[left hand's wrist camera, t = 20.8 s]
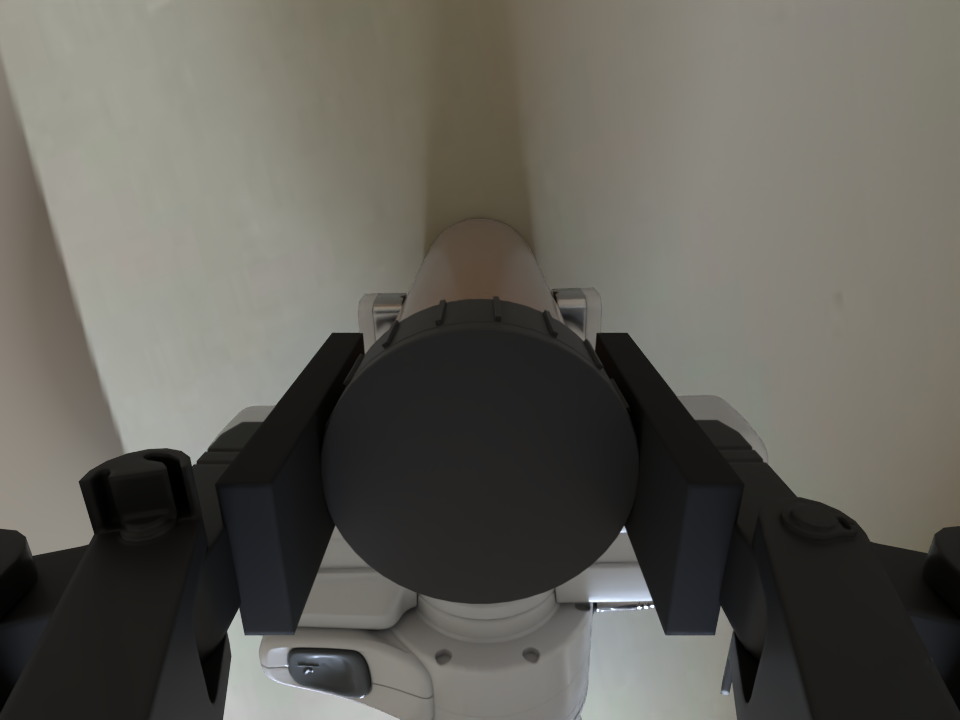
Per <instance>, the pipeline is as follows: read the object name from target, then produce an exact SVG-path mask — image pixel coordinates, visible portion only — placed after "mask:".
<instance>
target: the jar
mask: <svg viewBox="0 0 960 720" xmlns="http://www.w3.org/2000/svg"><path fill="white" fill-rule="evenodd" d="M493 296H498V297H499V300H503V301H510V302H513V303H517V304H521V305H525V306H528V307H531V308H533V309H536V310H538V311H541V312H544V310H547V311H549V312H550V314H551V316H552V317H553V318H554V319H556V320H558V321H560V322H562V323H563V324H564V325H565V326H567V324H566V322H565V320H564V318H563V316H562V314H561V312H560V310H559V308H558V306H557V303H556V301H555V299H554V297H553V295H552V293H551V291H550V289H549V287H548V285H547V282H546V280H545V278H544V276H543V274H542V272H541V270H540V268H539V266H538V264H537V262H536V259H535V257H534V255H533V253H532V251H531V249H530V247H529V245H528V244H527V242H526V241H525V240H524V239H523V237H522V236H521V235H520V234H519V233H518V232H516V231H515V230H514V229H512V228H511V227H509V226H508V225H506V224H504V223H501V222H498V221H495V220H491V219H482V218H478V219H469V220H465V221H462V222H459V223H456V224H454V225H453V226H451V227H449V228H448V229H446V230H445V231H444V232H442V233H441V234H440V235H439V236H438V237H437V239H436V240H435V241H434V242H433V244H432V246H431V247H430V249H429V251H428V253H427V255H426V257H425V259H424V261H423V264H422V266H421V268H420V270H419V272H418V274H417V276H416V278H415V280H414V282H413V284H412V287H411V289H410V291H409V293H408V295H407V297H406V299H405V301H404V303H403V305H402V307H401V310H400V312H399V314H398V316H397V318H396V320H398V322H400V321H402V320H404V319H405V318H407V317H409V316H411V315H412V314H414V313H417V312H419V311H422V310H424V309H426V308H429V307H431V306H435V305H439V303H440V300H444V299H445V300H446V302H450V301H458V300H465V299H493ZM567 327H568V326H567Z"/></svg>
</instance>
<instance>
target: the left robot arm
mask: <svg viewBox="0 0 960 720" xmlns="http://www.w3.org/2000/svg"><path fill="white" fill-rule="evenodd" d="M595 352H596V354H597V356H598V357H599V359H600V361H601V363H602V365H603V368H604V370H605V372H606V374H607V375H608V377H609V379H612V378H613V379H614V381H615V382H616V384H617V386H618V388H619V389H620V391H621V393H622V395H623V397H624V398H625V400H626V402H627V404H628V405H629V407H630V410H631V412H628V414H629V416H630V418H631V421H632V424H633V427H634V429H635V432H636V436H637V441H638V446H639V452H640V465H639V474H638V483H637V491H636V498H635V502H634V505H633V508H632V510H631V513H630V515H629V517H628V520H627V522H626V524H625V525H624V526H625V529H626V532H627V534H628V537H629V540H630V542H631V545H632V547H633V550H634V553H635V555H636V558H637V561H638V563H639V566H640V569H641V571H642V574H643V577H644V579H645V582H646V585H647V587H648V590H649V593H650V595H651V598H652V601H653V603H654V606H655V608H656V611H657V614H658V616H659V619H660V622H661V624H662V627H663V630H664V632H665V635H715V632H716V627H717V621H718V616H719V611H720V606H722V608H723V610H724V612H725V614H726V616H727V618H728V620H729V622H730V624H731V626H732V628H733V634H732V639H731V643H730V648H729V653H728V657H727V662H726V667H725V672H724V676H723V681H722V688H721V694H725V695H729V692H730V687H731V683H733V691H734V698H735V706H736V713H737V720H960V526H957V527H947V528H943V529H941V530H940V531H939V532H937V533H936V534H935V535H934V538H933V541H932V544H931V546H930V549H929V552H928V553H923V552H918V551H913V550H908V549H902V548H897V547H892V546H887V545H882V544H877V543H873V542H870V540H869V539H868V537H867V535H866V533H865V532H864V531H863V529H862V528H861V527H860V526H859V525H858V524H857V522H856V521H854V520H853V519H851V518H850V517H848V516H847V515H845V514H844V513H843V512H841V511H839V510H837V509H835V508H832V507H830V506H828V505H825V504H823V503H821V502H817V501H813V500H809V499H805V498H801V497H797V496H796V495H795V494H794V493H793V492H792V491H791V490H790V489H789V487H788V486H787V485H786V484H785V483H784V482H783V481H782V480H781V478H780V477H779V476H778V475H777V474H776V473H775V472H774V471H773V470H772V468H771V467H770V466H769V465H768V464H767V463H766V462H763V458H762V457H761V456H760V455H759V454H758V453H757V452H756V451H755V450H752V446H751V445H750V444H749V443H748V442H747V441H746V439H745V438H744V437H743V436H742V435H741V434H740V433H739V432H738V431H736V430H734V429H733V428H731V427H729V426H727V425H726V424H724V423H722V422H720V421H719V420H695V419H694V418H693V417H692V416H691V414H690V413H689V412H688V410H687V409H686V408H685V407H684V405H683V404H682V403H681V401H680V400H679V399H678V398H677V396H676V395H675V394H674V392H673V391H672V390H671V388H670V387H669V386H668V385H667V383H666V382H665V381H664V379H663V378H662V377H661V376H660V374H659V373H658V372H657V370H656V369H655V368H654V367H653V365H652V364H651V363H650V361H649V360H648V359H647V358H646V356H645V355H644V354H643V352H642V351H641V350H640V349H639V347H638V346H637V345H636V343H635V342H634V341H633V340H632V338H631V337H630V336H629V334H628V333H596V345H595ZM360 354H363V355H365V350H364V337H363V333H332V334H331V335H330V337H329V338H328V339H327V340H326V342H325V343H324V344H323V346H322V347H321V348H320V349H319V351H318V352H317V353H316V355H315V356H314V357H313V358H312V360H311V361H310V362H309V364H308V365H307V366H306V367H305V369H304V370H303V371H302V373H301V374H300V375H299V376H298V378H297V379H296V380H295V382H294V383H293V384H292V385H291V387H290V388H289V389H288V391H287V392H286V393H285V394H284V396H283V397H282V398H281V400H280V401H279V402H278V403H277V405H276V406H275V407H274V409H273V410H272V411H271V412H270V414H269V415H268V416H267V418H266V419H265V420H264V421H263V422H241V423H239V424H238V425H236V426H234V427H232V428H231V429H229V430H227V431H226V432H224V433H222V434H221V435H220V436H219V437H218V438H217V439H216V440H215V441H214V443H213V444H212V445H211V446H210V447H209V448H208V452H205V453H204V454H203V455H202V456H201V457H200V458H199V459H198V461H197V464H194V465H193V466H192V465H191V460H190V457H189V456H188V455H186V454H185V453H183V452H182V451H178V450H173V449H168V448H164V449H147V450H142V451H137V452H132V453H128V454H125V455H122V456H119V457H116V458H114V459H111V460H108V461H106V462H104V463H102V464H101V465H99V466H97V467H95V468H94V469H92V470H90V471H89V472H88V473H87V474H86V475H85V476H84V477H83V478H82V479H81V480H80V481H79V484H80V487H81V491H82V494H83V498H84V501H85V504H86V508H87V511H88V514H89V518H90V521H91V524H92V528H93V531H94V536H93V538H92V540H91V542H90V543H89V545H85V546H81V547H76V548H71V549H66V550H61V551H56V552H51V553H46V554H40V555H35V556H32V554H31V551H30V548H29V545H28V542H27V539H26V537H25V536H24V535H22V534H21V533H19V532H18V531H16V530H6V529H0V720H223V715H224V707H225V700H226V692H227V685H228V677H229V670H230V662H231V650H230V643H229V639H228V634H227V630H228V628H229V626H230V624H231V622H232V620H233V618H234V616H235V614H236V613H237V611H238V609H239V608H240V613H241V618H242V623H243V628H244V633H245V635H294V634H295V631H296V629H297V626H298V623H299V621H300V618H301V615H302V613H303V610H304V608H305V605H306V602H307V600H308V597H309V594H310V592H311V589H312V586H313V584H314V581H315V578H316V576H317V573H318V570H319V568H320V565H321V562H322V560H323V557H324V554H325V552H326V549H327V547H328V544H329V541H330V539H331V536H332V533H333V531H334V528H335V524H334V522H333V520H332V517H331V515H330V513H329V510H328V508H327V505H326V502H325V498H324V494H323V486H322V477H321V468H320V452H321V446H322V441H323V436H324V432H325V431H324V426H325V424H326V422H327V421H328V419H329V417H330V415H331V413H332V411H333V410H334V408H335V406H336V404H337V402H338V401H339V399H340V397H341V395H342V393H343V392H344V390H345V388H346V385H344V384H343V383H344V381H345V379H346V377H347V376H348V374H349V372H350V370H351V369H352V367H353V365H354V363H355V362H356V360H357V358H358V356H359V355H360Z"/></svg>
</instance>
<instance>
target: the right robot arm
mask: <svg viewBox="0 0 960 720" xmlns="http://www.w3.org/2000/svg"><path fill="white" fill-rule="evenodd" d="M552 295H553V297H554V299H555V301H556V303H557V306H558V308H559V310H560V312H561V314H562V316H563V318H564V320H565V322H566V324H567V326H568V328H569V329H571V330H572V331H573V332H575V333H576V334H577V335H578V336H579V337H580V338H581V339H582V340H583V341H584V340H585V339H588V340H589V341H590V343H591V345H592V347H593V348H594V350H595V345H596V333H601V315H602V305H601V298H600V295H599V293H598V292H597V291H596V290H595V288H567V289H552ZM406 297H407V294H406V293H372V294H364V296H363V297H362V298H361V300H360V301H359V306H358V321H359V330H360V333H363V337H364V350H365V354H366V353H367V351H368V350H369V348H370V347H371V346H372V345H373V344H374V343H375V342H376V341H377V340H378V339H379V338H380V337H381V336H382V335H383V334H384V333H385V332H387V331H388V330H389V329H390V327H391V325H392V323H393V322H394V321H395V320H396V318H397V316H398V314H399V312H400V310H401V307H402V305H403V303H404V301H405V299H406ZM677 398H678V399H679V400H680V401H681V403H682V404H683V405H684V407H685V408H686V409H687V410H688V412H689V413H690V414H691V416H692V417H693V418H694V419H695V420H719V421H720V422H722V423H724V424H726V425H727V426H729V427H731V428H733V429H734V430H736V431H738V432H739V433H740V434H741V435H742V436H743V437H744V438H745V439H746V441H747V442H748V443H749V444H750V445H751V446H752V450H755V451H756V452H757V453H758V454H759V455H760V456H761V457H762V458H763V462H766V463H767V464H768V452H767V449H766V447H765V445H764V443H763V441H762V440H761V438H760V437H759V435H758V434H757V433H756V431H755V430H754V429H753V428H752V427H751V425H750V424H749V423H748V422H747V421H746V420H745V419H744V418H743V417H742V416H741V415H740V414H739V413H738V412H737V411H736V410H735V409H734V408H733V407H732V406H731V405H730V404H728V403H727V402H726V401H725V400H724V399H722V398H720V397H718V396H712V395H694V396H677ZM274 407H275V406H252V407H248V408H245V409H244V410H242V411H241V412H239V413H238V414H237V415H236V416H235V417H234V418H233V419H232V420H231V421H230V423H229V424H228V425H227V426H226V427H225V428H224V429H223V430H222V431H221V432H220V433H219V434H218V436H217V437H216V438H215V439H214V441H215V440H216V439H217V438H218V437H219V436H220V435H221V434H222V433H224V432H226V431H227V430H229V429H231V428H232V427H234V426H236V425H238V424H239V423H241V422H263V421H264V420H265V419H266V418H267V416H268V415H269V414H270V412H271V411H272V410H273V409H274ZM214 441H213V442H212V443H211V445H212V444H213V443H214ZM211 445H210V446H211ZM210 446H209V447H210ZM206 452H208V449H207V451H206ZM648 608H655V606H654V603H653V601H652V598H651V595H650V593H649V590H648V587H647V585H646V582H645V579H644V577H643V574H642V571H641V569H640V566H639V563H638V561H637V558H636V555H635V553H634V550H633V547H632V545H631V542H630V540H629V537H628V534H627V532H626V529H625V526H624V527H623V529H622V530H621V532H620V534H619V535H618V537H617V538H616V540H615V541H614V542H613V543H612V545H611V546H610V547H609V548H608V549H607V551H606V552H605V553H604V554H603V555H602V556H601V557H600V558H599V559H598V560H597V561H596V562H595V563H593V564H592V565H591V566H590V567H588V568H587V569H586V570H584V571H583V572H582V573H580V574H579V575H578V576H576V577H574V578H573V579H571V580H569V581H568V582H566V583H564V584H562V585H560V586H558V587H556V588H554V589H551V590H549V591H547V592H545V593H541V594H538V595H535V596H532V597H529V598H525V599H521V600H516V601H511V602H504V603H494V604H466V603H456V602H449V601H444V600H439V599H434V598H431V597H428V596H425V595H421V594H418V593H415V592H413V591H411V590H409V589H406V588H404V587H402V586H399V585H398V584H396V583H394V582H392V581H391V580H389V579H387V578H385V577H384V576H382V575H381V574H379V573H378V572H377V571H375V570H374V569H373V568H371V567H370V566H369V565H368V564H367V563H365V562H364V561H363V560H362V559H361V558H360V557H359V556H358V555H357V554H356V553H355V552H354V551H353V550H352V548H351V547H350V546H349V545H348V543H347V542H346V541H345V540H344V538H343V537H342V535H341V534H340V532H339V530H338V529H337V527H336V526H335V528H334V531H333V533H332V536H331V539H330V541H329V544H328V547H327V549H326V552H325V554H324V557H323V560H322V562H321V565H320V568H319V570H318V573H317V576H316V578H315V581H314V584H313V586H312V589H311V592H310V594H309V597H308V600H307V602H306V605H305V608H304V610H303V613H302V615H301V618H300V621H299V623H298V626H297V629H296V631H295V634H294V635H263V637H262V641H261V644H260V649H259V657H260V662H261V666H262V669H263V671H264V672H265V674H266V675H267V676H268V677H269V678H271V679H272V680H274V681H276V682H279V683H282V684H285V685H289V686H294V687H298V688H303V689H308V690H313V691H317V692H321V693H326V694H330V695H334V696H337V697H341V698H345V699H348V700H351V701H355V702H358V703H361V704H364V705H367V706H370V707H372V708H375V709H378V710H380V711H382V712H385V713H387V714H389V715H392V716H394V717H396V718H399V719H400V720H582V719H581V713H582V710H583V707H584V704H585V700H586V696H587V690H588V682H589V663H590V646H591V632H592V614H594V611H595V612H599V611H600V612H608V611H634V610H637V609H638V610H641V609H648Z"/></svg>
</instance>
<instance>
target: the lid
mask: <svg viewBox="0 0 960 720" xmlns="http://www.w3.org/2000/svg"><path fill="white" fill-rule="evenodd" d="M343 384H344V385H346V388H345V390H344V392H343V393H342V395H341V397H340V399H339V401H338V402H337V404H336V406H335V408H334V410H333V411H332V413H331V415H330V417H329V419H328V421H327V422H326V424H325V426H324V431H325V432H324V436H323V441H322V446H321V452H320V468H321V477H322V486H323V494H324V498H325V502H326V505H327V508H328V510H329V513H330V515H331V517H332V520H333V522H334V524H335V526H336V527H337V529H338V530H339V532H340V534H341V535H342V537H343V538H344V540H345V541H346V542H347V543H348V545H349V546H350V547H351V548H352V550H353V551H354V552H355V553H356V554H357V555H358V556H359V557H360V558H361V559H362V560H363V561H364V562H365V563H367V564H368V565H369V566H370V567H371V568H373V569H374V570H375V571H377V572H378V573H379V574H381V575H382V576H384V577H385V578H387V579H389V580H391V581H392V582H394V583H396V584H398V585H399V586H402V587H404V588H406V589H409V590H411V591H413V592H415V593H418V594H421V595H425V596H428V597H431V598H434V599H439V600H444V601H449V602H456V603H466V604H494V603H504V602H511V601H516V600H521V599H525V598H529V597H532V596H535V595H538V594H541V593H545V592H547V591H549V590H551V589H554V588H556V587H558V586H560V585H562V584H564V583H566V582H568V581H569V580H571V579H573V578H574V577H576V576H578V575H579V574H580V573H582V572H583V571H584V570H586V569H587V568H588V567H590V566H591V565H592V564H593V563H595V562H596V561H597V560H598V559H599V558H600V557H601V556H602V555H603V554H604V553H605V552H606V551H607V549H608V548H609V547H610V546H611V545H612V543H613V542H614V541H615V540H616V538H617V537H618V535H619V534H620V532H621V530H622V529H623V527H624V525H625V524H626V522H627V520H628V517H629V515H630V513H631V510H632V508H633V505H634V502H635V498H636V491H637V483H638V474H639V465H640V452H639V446H638V441H637V436H636V432H635V429H634V427H633V424H632V421H631V418H630V416H629V414H628V412H631V410H630V407H629V405H628V404H627V402H626V400H625V398H624V397H623V395H622V393H621V391H620V389H619V388H618V386H617V384H616V382H615V381H614V379H613V378H612V379H609V377H608V375H607V374H606V372H605V370H604V368H603V365H602V363H601V361H600V359H599V357H598V356H597V354H596V352H595V350H594V348H593V347H592V345H591V343H590V341H589V340H588V339H585V340H584V341H583V340H582V339H581V338H580V337H579V336H578V335H577V334H576V333H575V332H573V331H572V330H571V329H569V328H568V327H567V326H565V325H564V324H563V323H562V322H560V321H558V320H556V319H554V318H553V317H552V316H551V314H550V312H549V311H547V310H544V312H541V311H538V310H536V309H533V308H531V307H528V306H525V305H521V304H517V303H513V302H510V301H503V300H499V297H498V296H493V299H465V300H458V301H450V302H446V300H445V299H444V300H440V303H439V305H435V306H431V307H429V308H426V309H424V310H422V311H419V312H417V313H414V314H412V315H411V316H409V317H407V318H405V319H404V320H402V321H400V322H398V320H395V321H394V322H393V323H392V325H391V327H390V329H389V330H388V331H387V332H385V333H384V334H383V335H382V336H381V337H380V338H379V339H378V340H377V341H376V342H375V343H374V344H373V345H372V346H371V347H370V348H369V350H368V351H367V353H366V354H365V355H363V354H360V355H359V356H358V358H357V360H356V362H355V363H354V365H353V367H352V369H351V370H350V372H349V374H348V376H347V377H346V379H345V381H344V383H343Z"/></svg>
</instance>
